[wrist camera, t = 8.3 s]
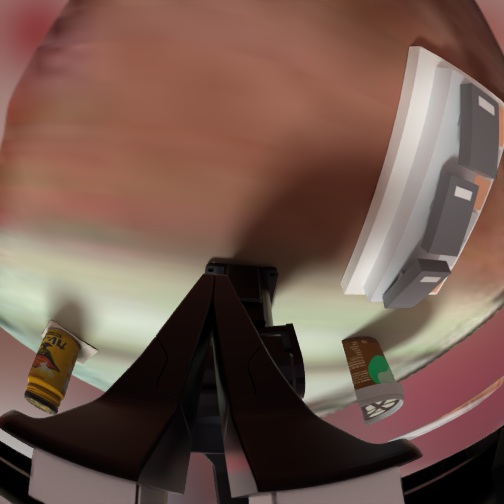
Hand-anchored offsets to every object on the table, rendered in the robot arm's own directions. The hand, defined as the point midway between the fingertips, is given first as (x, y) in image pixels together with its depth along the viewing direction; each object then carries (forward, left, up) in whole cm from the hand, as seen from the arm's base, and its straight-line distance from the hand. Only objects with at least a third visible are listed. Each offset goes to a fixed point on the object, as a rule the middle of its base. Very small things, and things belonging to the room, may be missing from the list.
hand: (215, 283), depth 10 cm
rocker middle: (+1, -16, -7) cm, 18 cm away
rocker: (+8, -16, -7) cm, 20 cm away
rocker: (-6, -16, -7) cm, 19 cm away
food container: (-23, -21, -12) cm, 33 cm away
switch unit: (+1, -18, -12) cm, 22 cm away
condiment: (-27, +23, -12) cm, 37 cm away
